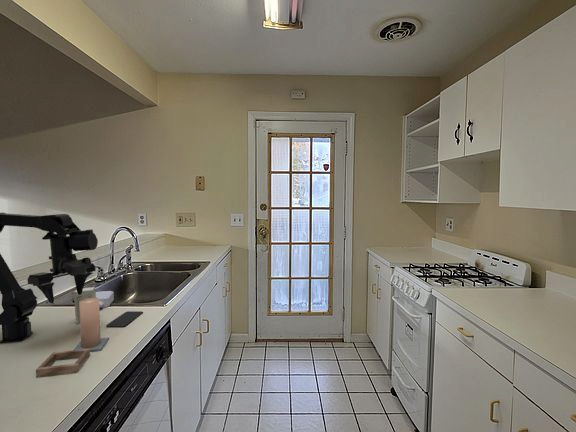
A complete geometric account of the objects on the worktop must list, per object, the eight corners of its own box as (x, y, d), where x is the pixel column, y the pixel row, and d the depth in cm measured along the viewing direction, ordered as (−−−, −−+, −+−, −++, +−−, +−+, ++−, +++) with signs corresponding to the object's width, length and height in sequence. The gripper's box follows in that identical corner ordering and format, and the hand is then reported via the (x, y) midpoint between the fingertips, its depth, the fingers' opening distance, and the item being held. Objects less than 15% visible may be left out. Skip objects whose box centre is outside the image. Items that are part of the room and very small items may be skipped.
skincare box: (97, 317, 123) (96, 286, 122) (94, 321, 119) (93, 289, 118) (78, 319, 121) (77, 288, 120) (74, 324, 117) (73, 291, 116)
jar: (78, 348, 97) (76, 303, 96) (84, 341, 102) (83, 298, 101) (97, 346, 98) (95, 302, 97) (102, 339, 103) (101, 297, 102)
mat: (71, 353, 95) (71, 351, 95) (81, 341, 103) (81, 339, 103) (101, 350, 97) (101, 348, 97) (109, 339, 105) (109, 337, 104)
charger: (79, 315, 126) (90, 302, 140) (105, 312, 129) (113, 300, 143) (78, 303, 126) (90, 292, 140) (104, 301, 128) (113, 290, 143)
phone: (144, 311, 129) (124, 326, 114) (144, 313, 129) (124, 328, 114) (126, 311, 129) (104, 326, 114) (126, 313, 129) (104, 328, 114)
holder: (36, 377, 83) (35, 369, 82) (53, 359, 92) (53, 352, 92) (77, 372, 85) (77, 365, 85) (90, 355, 94) (90, 348, 94)
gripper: (48, 257, 93) (53, 310, 94) (105, 247, 110) (109, 291, 111) (23, 257, 97) (29, 307, 97) (82, 247, 114) (86, 290, 115)
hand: (66, 298), depth 105 cm, fingers open, 9 cm apart
